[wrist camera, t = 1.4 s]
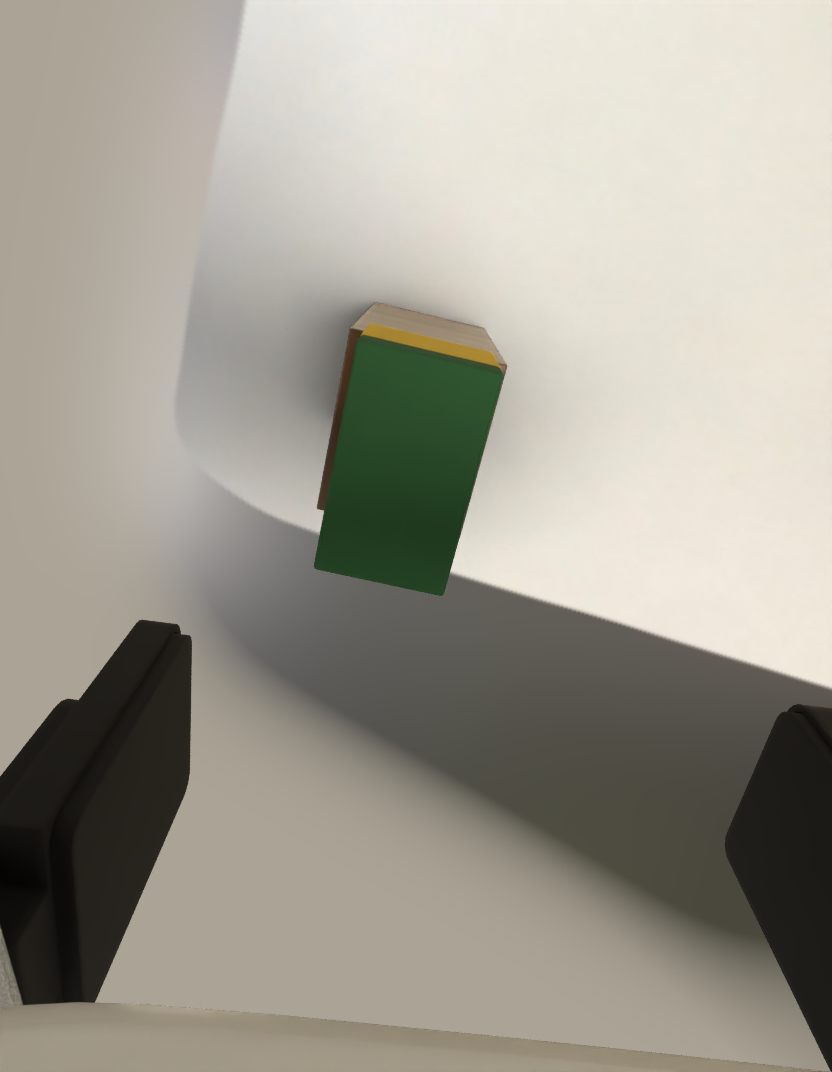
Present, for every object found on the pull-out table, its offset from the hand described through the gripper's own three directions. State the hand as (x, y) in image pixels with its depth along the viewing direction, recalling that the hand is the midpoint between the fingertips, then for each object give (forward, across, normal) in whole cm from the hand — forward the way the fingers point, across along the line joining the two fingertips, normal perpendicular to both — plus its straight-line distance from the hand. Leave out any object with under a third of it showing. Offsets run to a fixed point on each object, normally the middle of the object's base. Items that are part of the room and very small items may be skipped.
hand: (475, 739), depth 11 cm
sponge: (+11, +2, -2) cm, 11 cm away
